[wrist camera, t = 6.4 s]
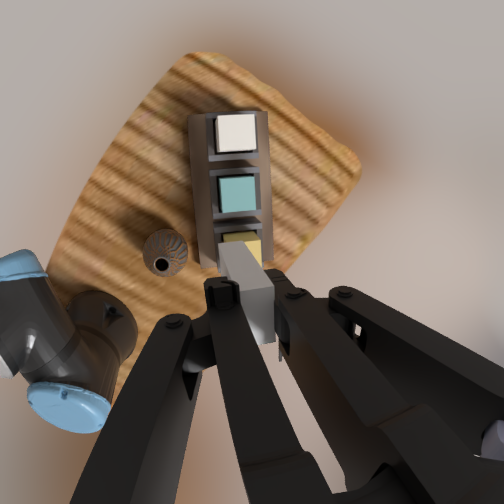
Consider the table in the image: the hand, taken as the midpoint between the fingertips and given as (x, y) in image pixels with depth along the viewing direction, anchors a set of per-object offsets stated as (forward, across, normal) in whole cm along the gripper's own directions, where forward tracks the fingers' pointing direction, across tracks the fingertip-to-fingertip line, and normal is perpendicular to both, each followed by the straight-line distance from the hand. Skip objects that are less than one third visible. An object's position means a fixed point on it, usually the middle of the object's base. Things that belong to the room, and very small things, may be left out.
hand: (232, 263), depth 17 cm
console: (+28, +4, +2) cm, 28 cm away
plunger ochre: (+23, +4, -6) cm, 24 cm away
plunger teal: (+25, +4, +2) cm, 25 cm away
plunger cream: (+23, +4, +10) cm, 25 cm away
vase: (+28, -7, -6) cm, 30 cm away
